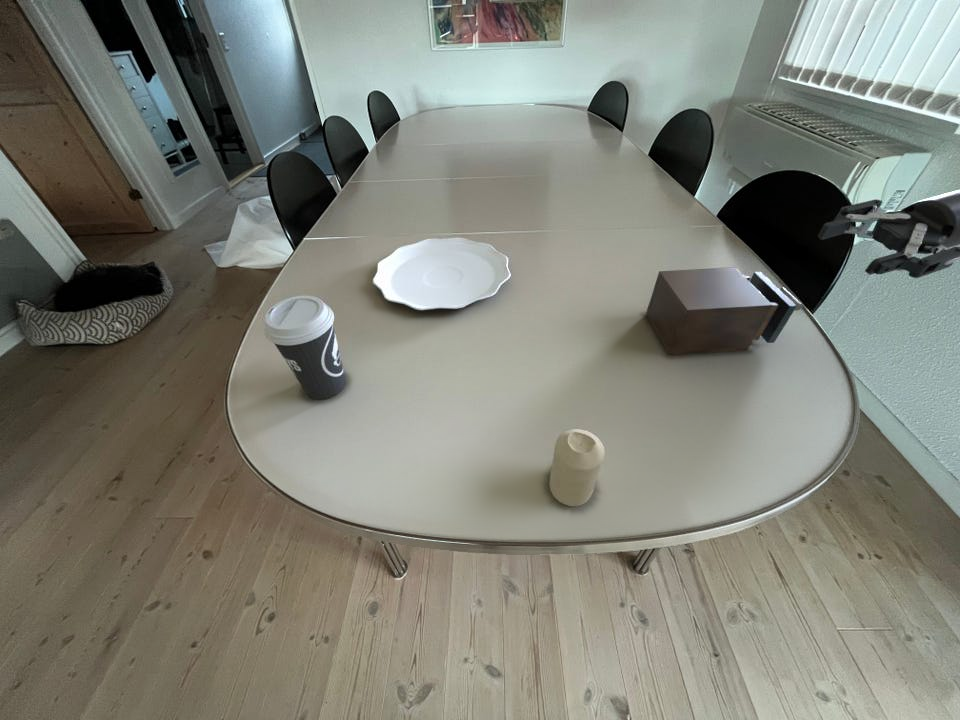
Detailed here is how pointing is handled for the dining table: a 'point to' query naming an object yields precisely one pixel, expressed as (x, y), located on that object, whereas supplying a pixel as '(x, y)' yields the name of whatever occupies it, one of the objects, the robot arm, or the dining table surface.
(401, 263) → the plate
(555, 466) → the candle
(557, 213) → the dining table surface
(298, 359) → the coffee cup
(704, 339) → the cabinet
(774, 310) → the drawer
